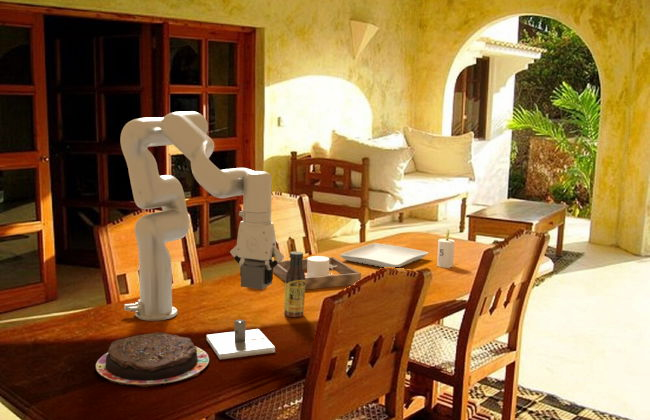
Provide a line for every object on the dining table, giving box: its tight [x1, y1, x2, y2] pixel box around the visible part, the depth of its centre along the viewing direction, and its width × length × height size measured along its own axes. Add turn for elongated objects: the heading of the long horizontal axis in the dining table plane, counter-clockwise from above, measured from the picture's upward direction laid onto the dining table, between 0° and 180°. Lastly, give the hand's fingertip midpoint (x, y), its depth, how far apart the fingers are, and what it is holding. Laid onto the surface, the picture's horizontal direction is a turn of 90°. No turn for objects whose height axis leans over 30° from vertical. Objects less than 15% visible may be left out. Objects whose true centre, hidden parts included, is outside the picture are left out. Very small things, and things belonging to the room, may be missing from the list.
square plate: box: [339, 242, 429, 268], centre depth 290 cm, size 27×27×4 cm
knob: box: [240, 259, 273, 290], centre depth 193 cm, size 7×7×8 cm
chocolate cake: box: [95, 331, 210, 388], centre depth 178 cm, size 28×28×7 cm
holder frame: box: [273, 256, 362, 290], centre depth 262 cm, size 25×26×4 cm
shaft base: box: [206, 319, 276, 360], centre depth 192 cm, size 15×15×7 cm
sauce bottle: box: [283, 251, 306, 318], centre depth 217 cm, size 7×6×20 cm
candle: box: [436, 229, 455, 269], centre depth 282 cm, size 6×6×15 cm
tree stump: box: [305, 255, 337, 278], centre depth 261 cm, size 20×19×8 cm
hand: (256, 280), depth 193 cm, fingers closed on knob, 6 cm apart
